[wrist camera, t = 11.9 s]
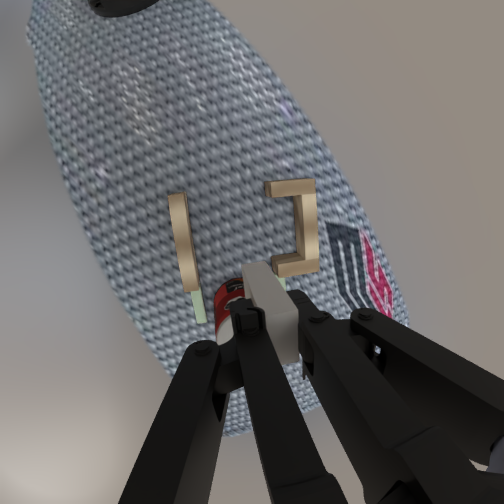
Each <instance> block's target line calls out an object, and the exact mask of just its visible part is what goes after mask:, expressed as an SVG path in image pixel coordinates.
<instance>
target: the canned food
mask: <svg viewBox="0 0 504 504" xmlns="http://www.w3.org/2000/svg"><path fill="white" fill-rule="evenodd" d="M243 299H246V298H245V290H244V282H243V278H238V279H233V280H230V281H228V282H226V283H225V284H224V285H222V286H221V288H220V289H219V290H218V291H217V293H216V295H215V298H214V319H215V334H216V342H217V344H218V345H221V344H223V343H226V342H227V341H229V340H230V339H231V338H232V337H233V335H234V334H233V328H232V322H231V316H230V310H229V305H230V304H231V302H232V301H236V300H243Z"/></svg>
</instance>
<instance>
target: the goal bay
mask: <svg viewBox="0 0 504 504" xmlns="http://www.w3.org/2000/svg"><path fill="white" fill-rule="evenodd" d="M273 273H274V275H275V276H276V278H277V279H278V281H279V282H280V284H281V285H282V287H283V288H284V290H285V291H286V286H285V277H283V278H278V276H277V275H276V273H275V272H273ZM191 296H192V301H193V306H194V311H195V315H196V320H197V324H198V323H205V322H207V316H206V311H205V306H204V300H203V295H202V290H201V285H200V283H199V290H198V291H191Z"/></svg>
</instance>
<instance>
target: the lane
mask: <svg viewBox="0 0 504 504" xmlns="http://www.w3.org/2000/svg"><path fill="white" fill-rule="evenodd" d="M264 184H265V194H266V196H268V197H271V198H275V197H284V196H293V204H294V217H295V232H296V248H297V252H296V253H290V254H283V255H276V256H271V260H272V269H273V271H274V272H275V273H276V275H277V276H278V278H283V277H289V276H295V275H301V274H307V273H312V272H318V271H319V245H318V222H317V205H316V190H315V179H308V178H302V179H289V180H277V181H267V182H264ZM168 202H169V209H170V216H171V222H172V228H173V234H174V240H175V246H176V252H177V257H178V262H179V268H180V273H181V278H182V283H183V288H184V292H191V291H198V290H199V281H200V279H199V274H198V268H197V262H196V256H195V250H194V244H193V238H192V231H191V225H190V218H189V211H188V204H187V196H186V192H180V193H174V194H170V195H168Z"/></svg>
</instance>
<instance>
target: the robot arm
mask: <svg viewBox="0 0 504 504" xmlns="http://www.w3.org/2000/svg"><path fill="white" fill-rule="evenodd" d="M157 1H158V0H88V3H89V5H90V7H91V8H92V10H93V11H94V12H95V13H96V14H98V15H100V16H104V17H119V16H125V15H128V14H132V13H135V12H138V11H140V10H142V9H145V8H147V7H148V6H150V5H152V4H154V3H155V2H157ZM241 267H242V274H243V282H244V290H245V298H246V299H243V300H236V301H232V302H231V304H230V305H229V310H230V316H231V322H232V328H233V334H234V335H233V337H232V338H231V339H230V340H229V341H227V342H226V343H223V344H221V345H218V344H217V343H216V342H214V341H212V340H200V341H197V342H194V343H192V344H191V345H189V346H188V348H187V349H186V351H185V353H184V355H183V357H182V360H181V362H180V364H179V366H178V368H177V370H176V373H175V375H174V377H173V379H172V381H171V384H170V386H169V388H168V390H167V393H166V395H165V397H164V399H163V401H162V403H161V406H160V408H159V410H158V412H157V414H156V417H155V419H154V421H153V423H152V426H151V428H150V430H149V433H148V435H147V437H146V439H145V442H144V444H143V446H142V448H141V451H140V453H139V455H138V458H137V460H136V462H135V464H134V467H133V469H132V472H131V474H130V476H129V479H128V481H127V483H126V486H125V488H124V490H123V493H122V495H121V498H120V500H119V503H118V504H208V500H209V495H210V490H211V485H212V481H213V476H214V471H215V466H216V461H217V457H218V452H219V447H220V442H221V437H222V432H223V427H224V423H225V418H226V413H227V408H228V403H229V398H230V392H231V391H234V390H236V389H238V388H241V387H243V386H244V390H245V395H246V399H247V404H248V408H249V413H250V417H251V422H252V426H253V431H254V435H255V439H256V444H257V448H258V452H259V456H260V460H261V464H262V468H263V472H264V476H265V480H266V484H267V488H268V492H269V496H270V499H271V503H272V504H348V502H347V500H346V498H345V496H344V494H343V491H342V489H341V487H340V485H339V483H338V481H337V480H336V478H335V477H334V476H333V474H330V473H328V472H327V471H326V469H325V467H324V465H323V463H322V460H321V458H320V456H319V453H318V451H317V449H316V447H315V444H314V442H313V440H312V437H311V435H310V432H309V430H308V428H307V425H306V423H305V421H304V418H303V416H302V413H301V411H300V409H299V406H298V404H297V402H296V399H295V397H294V394H293V392H292V390H291V387H290V385H289V382H288V380H287V378H286V375H285V373H284V370H283V368H282V365H285V364H289V363H294V362H298V361H299V352H300V354H301V356H302V377H303V380H305V375H307V377H308V379H309V381H310V383H311V385H312V387H313V389H314V391H315V393H316V395H317V397H318V399H319V401H320V403H321V405H322V407H323V409H324V411H325V412H326V415H327V416H328V418H329V420H330V422H331V424H332V426H333V428H334V430H335V432H336V434H337V436H338V438H339V440H340V442H341V444H342V446H343V448H344V450H345V452H346V454H347V456H348V458H349V460H350V462H351V464H352V466H353V468H354V470H355V471H356V473H357V475H358V477H359V479H360V481H361V483H362V485H363V491H364V492H363V493H364V500H365V503H366V504H504V380H502V379H501V378H499V377H497V376H495V375H493V374H491V373H490V372H488V371H486V370H484V369H483V368H481V367H479V366H477V365H475V364H474V363H472V362H470V361H468V360H466V359H465V358H463V357H461V356H459V355H457V354H455V353H454V352H452V351H450V350H448V349H446V348H444V347H443V346H441V345H439V344H437V343H435V342H433V341H431V340H430V339H428V338H426V337H424V336H422V335H421V334H419V333H417V332H415V331H413V330H411V329H410V328H408V327H406V326H404V325H402V324H400V323H399V322H397V321H395V320H393V319H391V318H389V317H387V316H386V315H384V314H382V313H380V312H378V311H376V310H374V309H371V308H359V309H355V310H354V311H352V313H351V315H350V319H342V320H336V319H335V318H334V317H333V316H332V315H331V314H330V313H328V312H325V311H319V310H318V308H317V307H316V306H315V305H314V304H313V302H312V301H311V300H310V299H309V298H308V296H307V295H306V294H305V293H304V292H302V291H300V290H298V289H296V290H291V291H285V290H284V288H283V287H282V285H281V284H280V282H279V281H278V279H277V278H276V276H275V275H274V273H273V272H272V270H271V269H270V267H269V266H268V264H267V263H266V261H262V262H255V263H248V264H242V265H241ZM376 346H378V347H379V348H381V351H380V354H378V353H376V352H375V348H376ZM469 459H470V460H472V461H474V462H477V463H479V464H482V465H486V466H488V468H487V470H486V471H480V470H477V469H476V468H475V467H474V465H473V464H472V463H471V462H470V460H469Z"/></svg>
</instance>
